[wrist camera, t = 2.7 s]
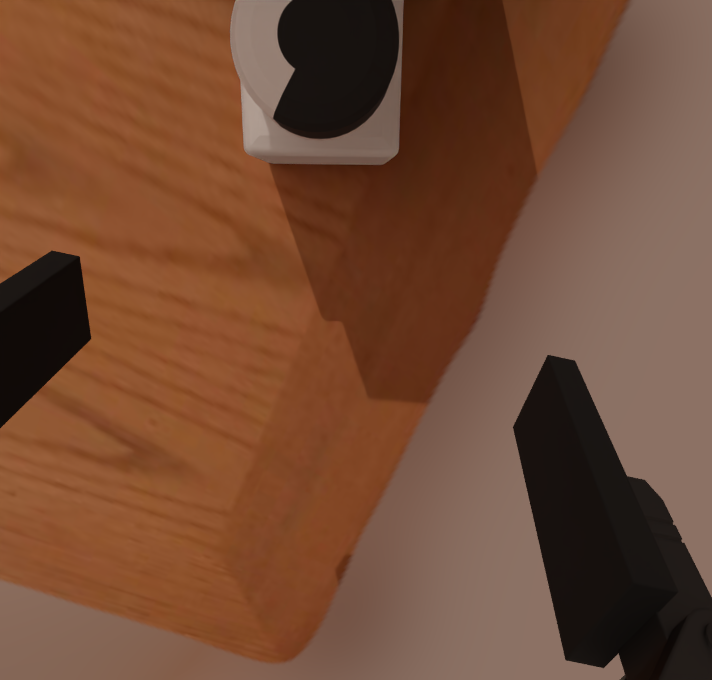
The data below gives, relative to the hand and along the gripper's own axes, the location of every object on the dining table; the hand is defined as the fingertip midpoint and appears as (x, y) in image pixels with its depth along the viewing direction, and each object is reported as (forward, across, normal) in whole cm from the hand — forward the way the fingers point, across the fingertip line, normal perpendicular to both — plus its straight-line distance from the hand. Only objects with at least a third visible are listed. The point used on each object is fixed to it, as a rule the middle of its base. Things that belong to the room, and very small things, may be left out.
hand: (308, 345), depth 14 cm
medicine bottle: (+20, -3, +3) cm, 20 cm away
